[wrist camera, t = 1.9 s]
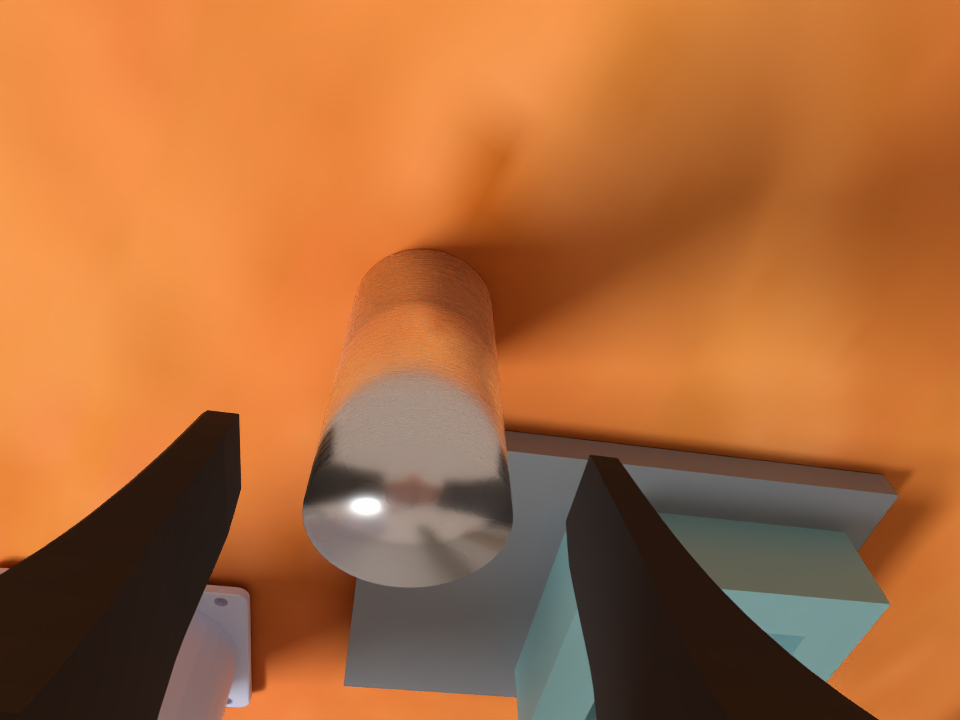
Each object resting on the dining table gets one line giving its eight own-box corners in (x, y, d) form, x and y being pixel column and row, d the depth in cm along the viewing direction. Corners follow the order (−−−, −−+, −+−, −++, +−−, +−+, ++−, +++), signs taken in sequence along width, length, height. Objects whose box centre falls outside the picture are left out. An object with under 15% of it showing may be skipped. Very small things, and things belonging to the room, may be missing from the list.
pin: (349, 360, 20) (299, 578, 14) (360, 238, 18) (305, 428, 11) (479, 376, 21) (491, 595, 14) (504, 260, 18) (533, 454, 12)
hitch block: (346, 663, 29) (333, 760, 26) (376, 415, 21) (362, 507, 18) (732, 690, 31) (765, 782, 28) (883, 474, 24) (953, 566, 20)
